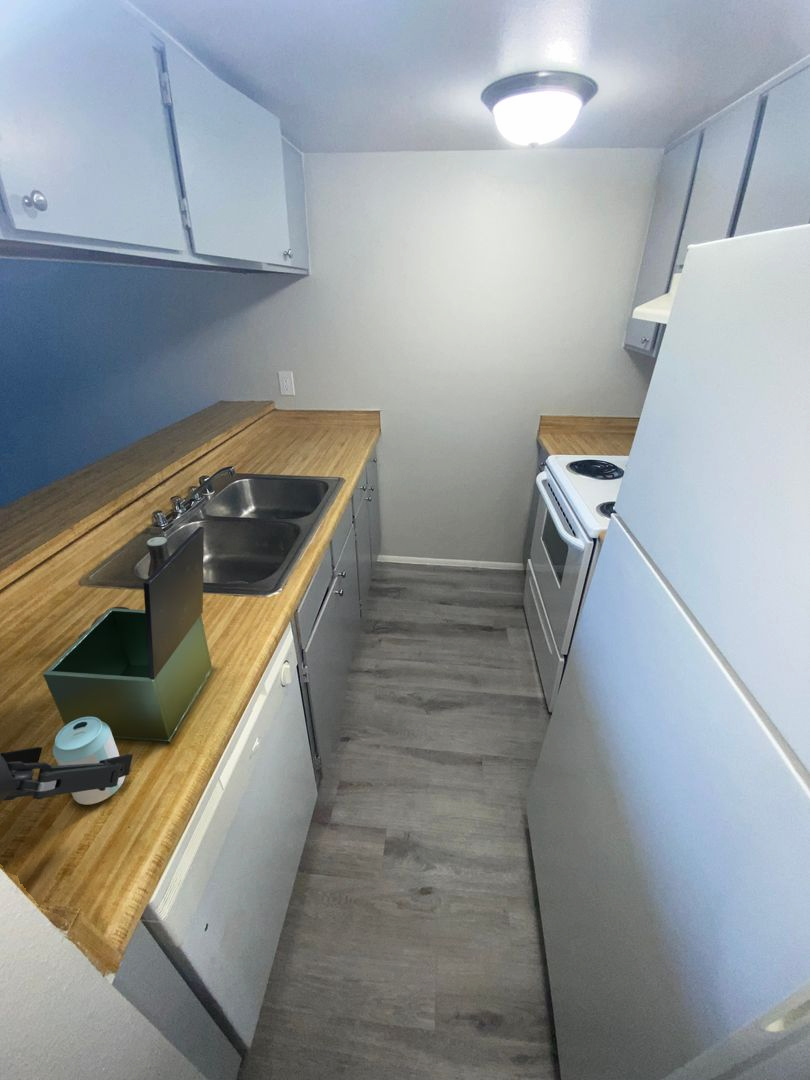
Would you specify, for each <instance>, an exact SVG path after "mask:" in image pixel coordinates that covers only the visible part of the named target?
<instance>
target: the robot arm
mask: <svg viewBox="0 0 810 1080" xmlns="http://www.w3.org/2000/svg"><path fill="white" fill-rule="evenodd" d="M42 751H43V747H41V746H37V747H35V746H34V747H30V748H24V749H23V748H22V749H18V750H11V751H5V752H0V804H2V802H4V801H5V802H6V801H7V802H8V801H13V800H16V799H17V798H23V797H32V798H33V799H34V800H38V801H39V800H40V801H41V800H43V799H47V798H52V797H54V796H60V795H67V794H72V793H74V792H81V791H87V790H94V789H99V790H100V791H104V790H105V788H107V787H114V786H117V783H118V778H120V777H123V776H125V777H126V776H129V775H130V770H131V766H132V760H133V758H134V757H133V756H134V754H133V753H131V754H130V753H127V754H122V755H120V756H118V757H113V758H109V759H105V760H101V761H100V762H99V763H93V764H77V765H61V766H58V765H51V764H50V763H49V762H46V761H40V758H41V755H42V753H43V752H42ZM34 770H39V772H38V775H37V778H34V773H35V771H34Z"/></svg>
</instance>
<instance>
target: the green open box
mask: <svg viewBox="0 0 810 1080" xmlns="http://www.w3.org/2000/svg"><path fill="white" fill-rule="evenodd" d="M108 609H109V610H108ZM108 609H107V610H108V611H107V612H106V613H105V612H104V613H105V614H104V615H103V616H102V617H101V618H100V619H99V620H98V621H97V622H95V623H94V624H93V625H92V624H91V625H92V626H89V628H88V630H87V629H86V630H87V631H86V630H85V631H86V632H85V631H84V632H85V633H84V634H83V635H82V636H81V637H80V638H79V637H78V638H79V639H78V638H77V640H76V641H75V642H73V644H72V645H71V646H70V647H69V648H68V649H66V651H64V653H63V654H62V655H61V656H59V657H58V658H57V659H56V660H55V661H54V662H53V663H52V664H51V665H50V666H49V667H48V668H47V669H46V670H45V671H44V672H43V673H42V676H43V678H44V681H45V683H46V686H47V687H48V690H49V693H50V694H51V695H50V696H52V700H53V701H54V704H55V706H56V708H57V711H58V713H59V715H60V718H61V720H62V723H63V724H64V727H65V726H66V725H67V724H69V723H70V722H72V721H74V720H77V719H80V718H83V717H96V718H98V719H100V720H101V721H102V722H104V723H106V724H107V725H108V726H109V728H110V730H111V733H112V736H113V739H114V741H115V740H116V741H127V742H128V741H129V742H141V743H157V744H167V745H170V744H171V743H172V741H173V739H174V737H175V736H176V734H177V733H178V731H179V729H180V727H181V726H182V724H183V723H184V721H185V719H186V717H187V715H188V713H189V712H190V710H191V709H192V706H193V705H194V703H195V702H196V700H197V698H198V696H200V693H201V692H202V690H203V688H204V686H205V685H206V683H207V681H208V679H209V678H210V676H211V675H212V672H213V670H214V669H213V665H212V660H211V656H210V651H209V646H208V641H207V635H206V631H205V626H204V622H203V616H202V614H201V615H200V617H199V618H198V619H197V621H196V622H195V624H194V625H193V626H192V628H191V629H190V630H189V632H188V633H187V635H186V636H185V637H184V639H183V640H182V642H181V643H180V644H179V646H178V647H177V649H176V650H175V651H174V653H173V654H172V655H171V657H170V658H169V660H168V661H167V662H166V664H165V665H164V667H163V668H162V669H161V671H160V672H159V673H158V675H157V676H156V678H155V679H154V680H153V679H149V667H148V651H147V634H146V617H145V609H133V608H129V609H119V608H113V607H110V608H108Z"/></svg>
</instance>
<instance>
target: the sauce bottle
mask: <svg viewBox="0 0 810 1080" xmlns="http://www.w3.org/2000/svg"><path fill="white" fill-rule="evenodd" d="M146 548H147V550H148V552H149V556H150V557H149V558H150V561H149V566H148V570H147V577H148V578H149V577H150V576H151V575H152V574H153V573H154V572H155V571H156V570H157V569H158V568H159V567H160V566H161V565H162V564H163V563H164V562H165V561H166V560H167V559H168V558H169V557H170V556H171V554H170V552H169V542H168V539H167V538H166V537H163V536H155V537H152V538H149V539H148V540H147V541H146Z"/></svg>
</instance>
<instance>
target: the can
mask: <svg viewBox="0 0 810 1080" xmlns="http://www.w3.org/2000/svg"><path fill="white" fill-rule="evenodd" d="M52 754H53V758H54V759H55V762H56V763H57V766H61V765H77V764H93V763H99V762H100V761H101V760H105V759H109V758H113V757H118V756H121V755H120V753H119V749H118V746H117V744H116V742H115V740H114V739H113V736H112V733H111V730H110V728H109V726H108V725H107V724H106V723H104V722H102V721H101V720H100V719H98V718H96V717H83V718H80V719H77V720H74V721H72V722H70V723H69V724H67V725H66V726H65V725H64V726H63V727H62V728H61V729H60V730H59V731H58V733H57V734H56V735H55V738H54V745H53V748H52ZM125 779H126V776H123V777H120V778H118V783H117V786H114V787H107V788H105V790H104V791H100V790H99V789H94V790H87V791H81V792H74V793H71V795H72V797H73V800H74V801H75V802H76V803H78V804H81V805H93V804H97V803H100V802H103V801H104V800H106V799H108V798H110V797H111V796H113V795H114V794H115V793H116V792H117V791H118V790H119V789H120V788H121V786H122V785H123V784H124V781H125Z"/></svg>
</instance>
